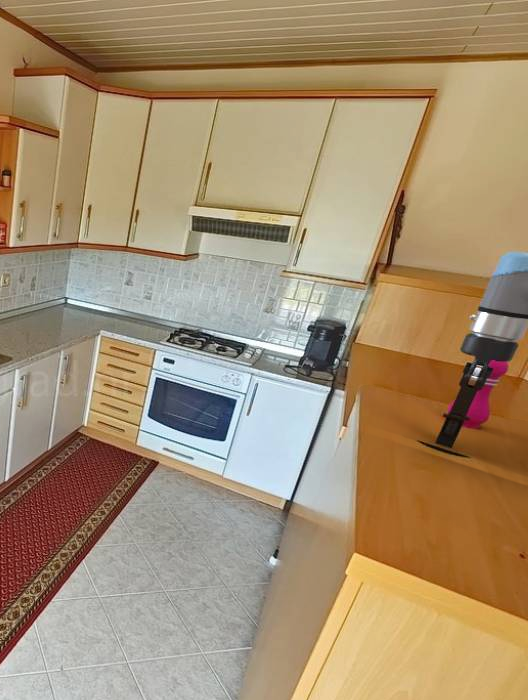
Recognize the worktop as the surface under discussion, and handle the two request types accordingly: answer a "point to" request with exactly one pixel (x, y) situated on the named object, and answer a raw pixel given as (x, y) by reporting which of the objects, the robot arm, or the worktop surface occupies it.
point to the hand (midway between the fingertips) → (442, 447)
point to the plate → (443, 450)
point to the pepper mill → (484, 396)
